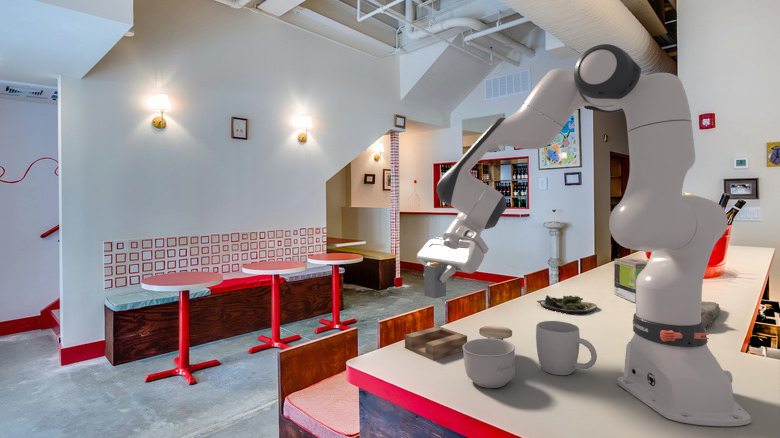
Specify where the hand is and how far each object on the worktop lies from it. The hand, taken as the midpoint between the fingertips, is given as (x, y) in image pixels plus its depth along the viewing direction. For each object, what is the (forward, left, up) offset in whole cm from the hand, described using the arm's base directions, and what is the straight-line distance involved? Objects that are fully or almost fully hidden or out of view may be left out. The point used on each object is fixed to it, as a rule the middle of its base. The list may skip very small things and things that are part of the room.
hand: (433, 279), depth 108 cm
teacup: (-18, -12, -19) cm, 29 cm away
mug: (-13, -29, -19) cm, 37 cm away
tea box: (+59, -76, -19) cm, 99 cm away
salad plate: (+44, -46, -19) cm, 67 cm away
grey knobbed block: (+1, 0, -4) cm, 4 cm away
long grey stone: (+32, -83, -19) cm, 91 cm away
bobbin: (-3, -15, -18) cm, 24 cm away
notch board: (0, 0, -18) cm, 18 cm away
